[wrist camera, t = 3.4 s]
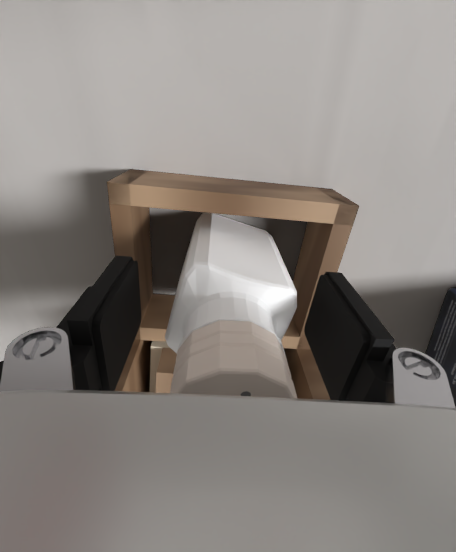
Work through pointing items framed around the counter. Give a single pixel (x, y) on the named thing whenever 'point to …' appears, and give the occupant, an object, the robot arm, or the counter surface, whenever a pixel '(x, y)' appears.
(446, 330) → the small box
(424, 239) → the counter surface
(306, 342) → the brown wooden frame
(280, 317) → the pepper shaker
